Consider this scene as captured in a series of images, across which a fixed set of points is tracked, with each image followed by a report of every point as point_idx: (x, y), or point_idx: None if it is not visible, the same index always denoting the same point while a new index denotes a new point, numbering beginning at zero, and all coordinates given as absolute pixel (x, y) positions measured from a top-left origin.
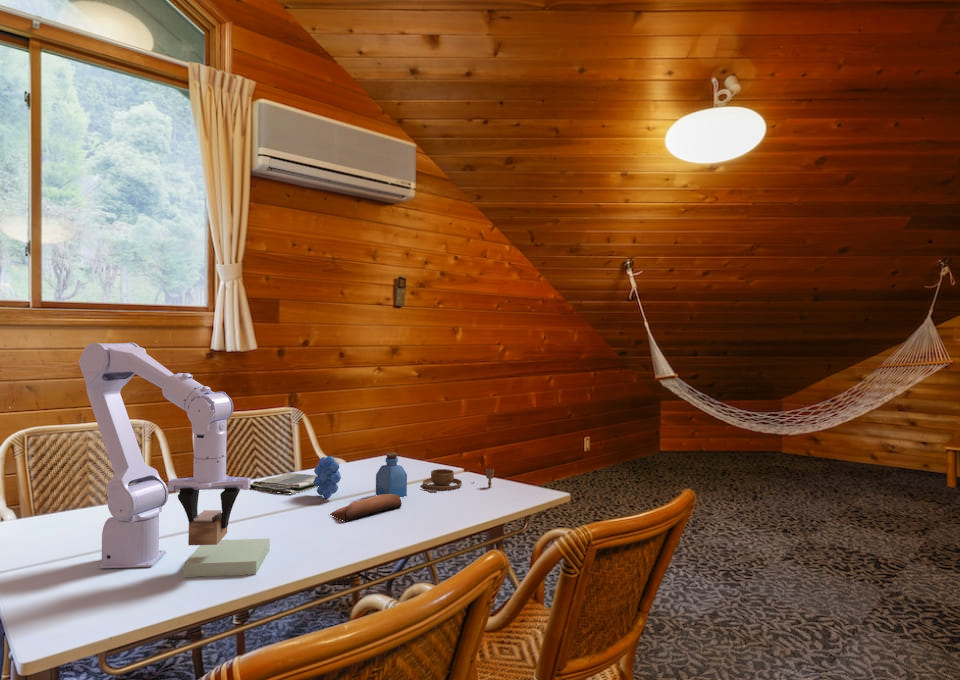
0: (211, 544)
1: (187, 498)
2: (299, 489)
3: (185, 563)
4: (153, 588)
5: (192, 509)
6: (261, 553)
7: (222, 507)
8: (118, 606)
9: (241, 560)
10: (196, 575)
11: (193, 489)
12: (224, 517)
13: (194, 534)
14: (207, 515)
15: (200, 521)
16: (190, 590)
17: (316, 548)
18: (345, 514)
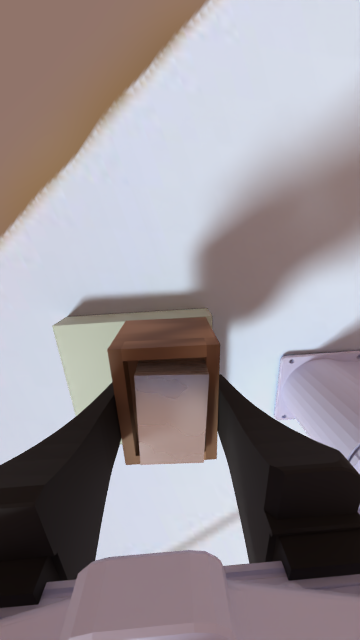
0: (140, 320)
1: (281, 455)
2: None
3: (208, 317)
4: (247, 254)
5: (234, 423)
6: (66, 375)
7: (86, 430)
8: (289, 158)
9: (89, 331)
10: (182, 310)
11: (280, 564)
12: (98, 401)
13: (192, 328)
14: (167, 408)
15: (181, 366)
16: (169, 239)
17: (6, 435)
18: None
